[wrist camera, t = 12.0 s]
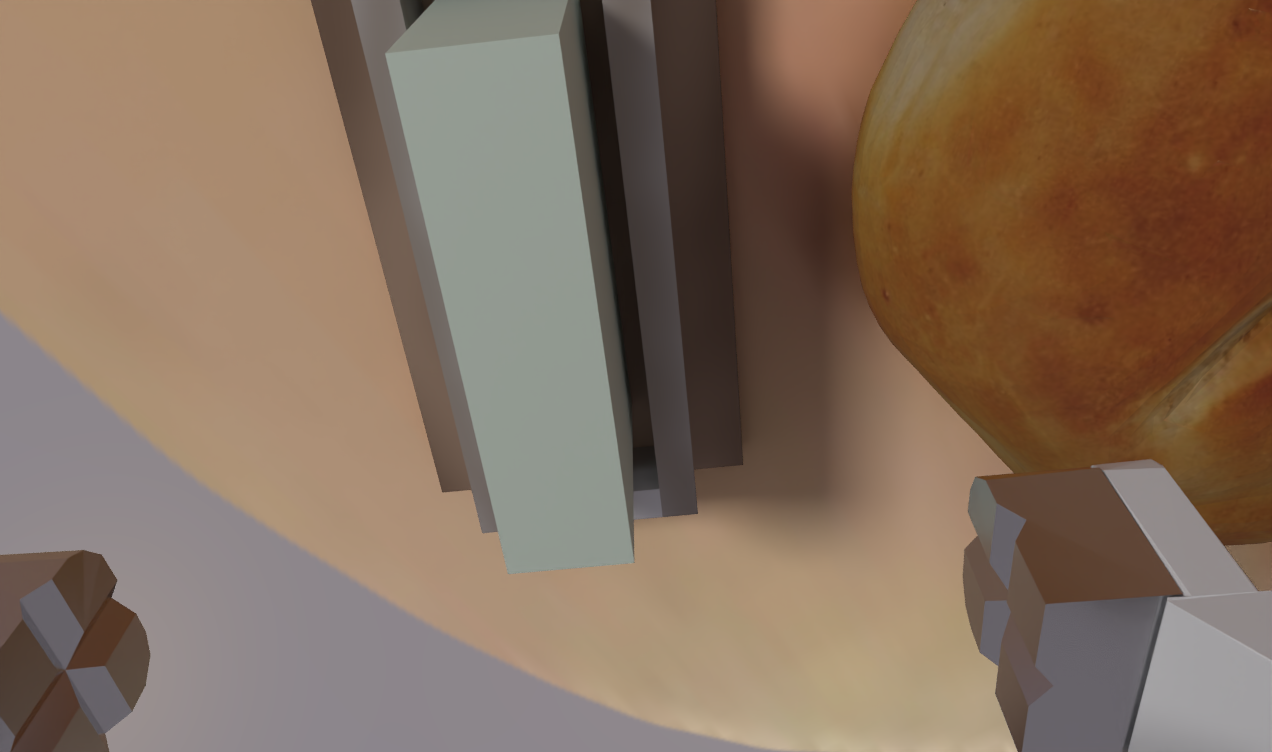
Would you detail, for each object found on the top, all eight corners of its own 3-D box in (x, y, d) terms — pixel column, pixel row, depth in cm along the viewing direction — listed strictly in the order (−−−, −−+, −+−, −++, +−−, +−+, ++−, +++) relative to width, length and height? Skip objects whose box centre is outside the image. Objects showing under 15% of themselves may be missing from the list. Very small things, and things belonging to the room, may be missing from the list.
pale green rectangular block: (575, -29, 26) (559, 33, 19) (631, 404, 33) (634, 562, 26) (448, -15, 26) (384, 53, 19) (531, 413, 33) (508, 573, 26)
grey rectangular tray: (702, -173, 25) (713, -169, 22) (740, 448, 35) (750, 509, 32) (290, -123, 25) (246, -112, 22) (446, 475, 36) (430, 537, 33)
